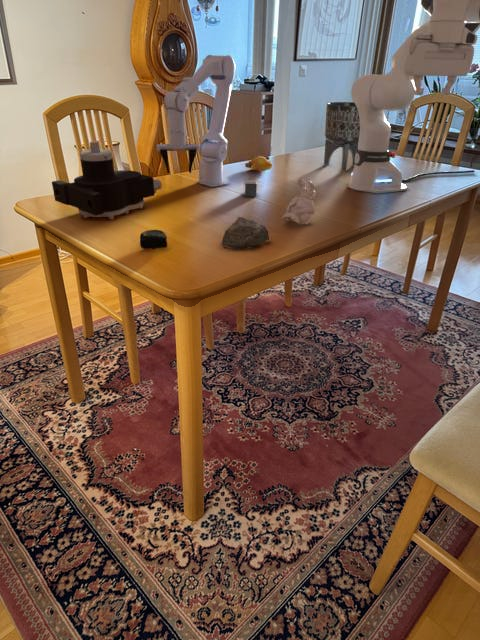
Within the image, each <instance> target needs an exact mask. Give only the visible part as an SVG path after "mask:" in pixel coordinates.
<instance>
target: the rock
mask: <svg viewBox="0 0 480 640" xmlns="http://www.w3.org/2000/svg"><path fill="white" fill-rule="evenodd" d="M269 241H270V233H269V230H268V229H267V228H266V226H265V225H263V224H261V223H259V222H256V221H255V220H252V219H247V218H245V217H241V216H238V217H237V218H236V219H235V221H234V222H233V223H232V224H231V225H229V226H228V227H227V228H226V229H225V231H224V233H223V236H222V239H221V244H222V247H224V248H229V249H231V250H245V249H254V248H257V247H259V246H260V245H264V244H266V242H269Z"/></svg>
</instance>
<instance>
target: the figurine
mask: <svg viewBox="0 0 480 640" xmlns="http://www.w3.org/2000/svg"><path fill="white" fill-rule="evenodd" d="M296 184H297V186H298V188H299V189H300V196H296V197H294V198H292V199H291V200H290V202H289V204H288V205H287V207H286V212H285V213H284V214H283V215H282V217H281V220H282V221H284V220H285V221H286V222H292V223H295V224H296V223H297V224H298V225H309V220H310V217H311V215H312V216H313V215H314V214H315V210H316V207H315V203H314V201H315V200H316V191H315V189H316V186H315V183H314V182H313V181H311V179H308V184H309V187H306V180H304V179H303V178H302V177H299V178H298V179H297V183H296Z"/></svg>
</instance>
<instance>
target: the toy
mask: <svg viewBox="0 0 480 640" xmlns="http://www.w3.org/2000/svg"><path fill="white" fill-rule="evenodd" d="M271 161H272V160H271V158H270V157H269V156H262V155H259V156H256V157H253V158H251V160H249V161H248V162H246V163H245V164H244V167H245V168H248V169H252V170H255V171H257V172H265V171H268V170H271V169H272V168H273V163H271Z"/></svg>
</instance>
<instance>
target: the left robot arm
mask: <svg viewBox="0 0 480 640" xmlns="http://www.w3.org/2000/svg"><path fill="white" fill-rule="evenodd" d="M235 73H236V63H235V61H234V58H233V56H232V55H229V54H227V55H213V54H208V55H206V56H205V58H203V59H202V64H201V65H200V67H199V68H198V69H197V70H196V71H195V72H194V74H193V75H192V76H191V77H190V76H187V77H183V78H182V81H181V82H180V84H178V85H177V86H175V87H174V89H173V91H168V92H167V93H166V94H165V95H164V97H163V101H162V104H163V107H164V109H165V114H166V116H167V122H168V123H167V124H168V143H164V144H163V143H162V144H156V152H160V156H161V158H162V160H163V163H164V165H165V168H166V173H167V174H170V167H169V166H170V165H169V154H168V153H169V152H188V173H189V174H191V173H192V168H193V164H194V161H195V159H196V156H197V152H198V153H199V156H200V157H201V158H202V159H201V160H200V161H199V163H198V181H197V180H196V181H197V182H196V183H198V184H200V185H203V186H207V187H210V188H215V187H219V186H225V185H228V182H225V181H223V162H224V161H225V159H226V157H227V156H228V140H227V138H225V136H224V131H225V125H226V121H227V120H226V119H227V114H228V109H229V104H230V98H231V93H232V89H233V83H234V78H235ZM207 79H210V80H211V82H212V83H213V84H215V87H216V89H215V94H214V100H213V106H212V110H211V116H210V122H209V128H208V131H207V132H206V133H205V134H204V135H202V139H201V142H200V144H199V143H187V134H186V133H187V130H186V128H187V127H186V111H187V110H188V108H189V106H190V105H189V104H190V102H191V100H192V99H193V98H194V97H195V96H196V94H198V93H199V90H200V86H201V85H202V84H203V83H204V82H206V81H207Z"/></svg>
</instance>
